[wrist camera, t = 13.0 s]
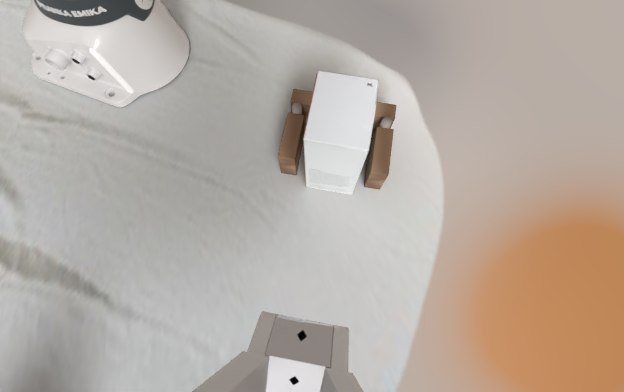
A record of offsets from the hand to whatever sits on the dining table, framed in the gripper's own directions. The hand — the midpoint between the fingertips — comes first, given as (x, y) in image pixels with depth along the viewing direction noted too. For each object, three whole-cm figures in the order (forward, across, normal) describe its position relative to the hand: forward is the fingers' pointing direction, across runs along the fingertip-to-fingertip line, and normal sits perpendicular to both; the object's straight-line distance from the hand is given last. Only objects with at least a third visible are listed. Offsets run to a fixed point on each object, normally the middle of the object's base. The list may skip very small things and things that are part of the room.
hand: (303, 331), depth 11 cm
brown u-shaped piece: (+34, 0, +4) cm, 35 cm away
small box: (+33, 0, +6) cm, 33 cm away
